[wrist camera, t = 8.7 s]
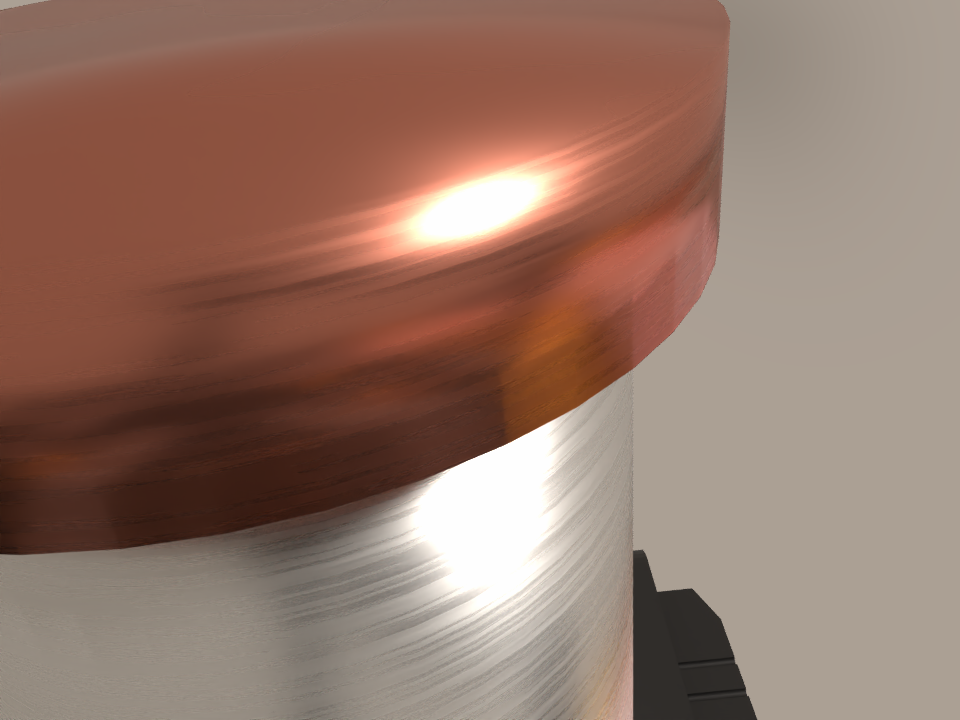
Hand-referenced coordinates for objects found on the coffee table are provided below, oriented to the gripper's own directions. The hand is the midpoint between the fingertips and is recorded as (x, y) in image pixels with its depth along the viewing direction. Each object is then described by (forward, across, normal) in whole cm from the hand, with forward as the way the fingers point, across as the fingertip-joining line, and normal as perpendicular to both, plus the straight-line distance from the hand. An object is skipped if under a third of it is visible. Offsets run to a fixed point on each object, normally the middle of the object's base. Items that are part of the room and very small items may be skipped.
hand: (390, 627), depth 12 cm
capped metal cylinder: (-3, 0, +10) cm, 10 cm away
